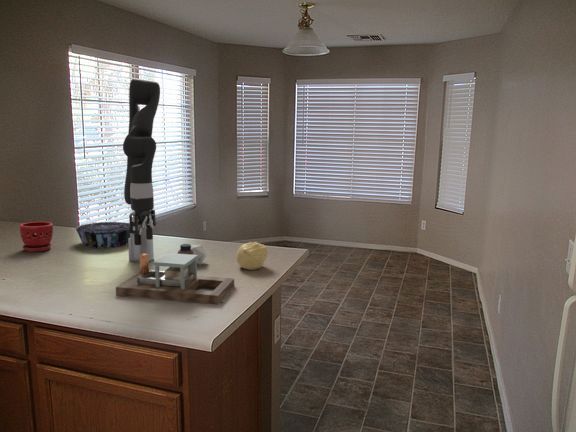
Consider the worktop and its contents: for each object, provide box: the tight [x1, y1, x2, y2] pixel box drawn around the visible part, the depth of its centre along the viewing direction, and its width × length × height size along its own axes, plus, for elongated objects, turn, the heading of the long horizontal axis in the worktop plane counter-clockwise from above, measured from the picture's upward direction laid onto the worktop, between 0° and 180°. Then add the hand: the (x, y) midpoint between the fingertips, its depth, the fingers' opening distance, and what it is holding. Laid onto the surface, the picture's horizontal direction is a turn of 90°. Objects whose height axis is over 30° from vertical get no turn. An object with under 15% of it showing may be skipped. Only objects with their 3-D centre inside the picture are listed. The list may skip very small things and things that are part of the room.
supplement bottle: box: [177, 243, 193, 255], centre depth 185 cm, size 6×6×11 cm
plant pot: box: [19, 221, 54, 253], centre depth 215 cm, size 13×13×12 cm
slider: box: [137, 253, 194, 287], centre depth 165 cm, size 18×9×9 cm, turn 80°
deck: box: [115, 271, 235, 305], centre depth 166 cm, size 36×18×3 cm, turn 80°
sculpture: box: [236, 241, 269, 271], centre depth 194 cm, size 11×12×11 cm
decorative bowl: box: [74, 221, 130, 250], centre depth 229 cm, size 26×28×10 cm
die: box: [190, 244, 207, 266], centre depth 198 cm, size 8×9×10 cm
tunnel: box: [153, 252, 198, 289], centre depth 165 cm, size 11×12×9 cm
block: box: [164, 267, 188, 280], centre depth 165 cm, size 6×6×5 cm
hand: (143, 242), depth 165 cm, fingers open, 8 cm apart
